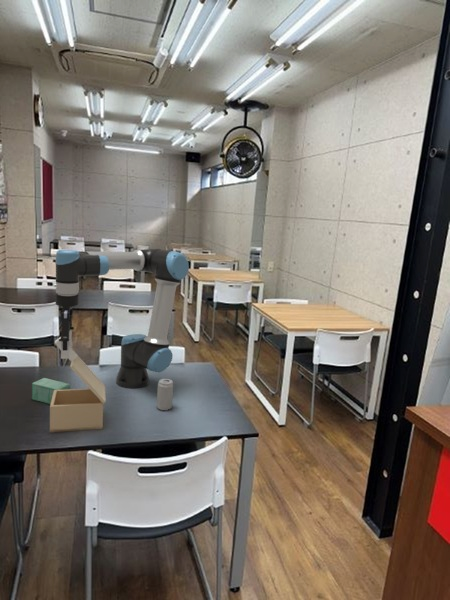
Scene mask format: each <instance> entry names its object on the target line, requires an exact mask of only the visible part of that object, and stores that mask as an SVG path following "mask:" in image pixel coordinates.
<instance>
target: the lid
mask: <svg viewBox="0 0 450 600" xmlns="http://www.w3.org/2000/svg"><path fill="white" fill-rule="evenodd" d="M59 339H61V336H59V338H57V339H56V340H54V345H55V346H56V347H57V348H58V349H59V350H60V351H61V341H59ZM68 360H69V361H70V369H71V370H73V372H74V373H75V374H76V376H77V377H79V379H80V380H81V381H82V382H83V383H84V384H85V385H86V387H88V389H91V391H92V392H93V393H94V394H95V395H96V396H97V397H98V398H99V399H100V400H101V401H102V403H103V404H105V403H106V402H107V401H106V398H107V397H106V385H105V384H104V383H103V382H102V381H101V379H100V378H99V377H98V376H97V375H96V374H95V373H94V371H92V370H91V369H90V367H89V366H88V365H87V364H86V363H85V362H84V361H83V359H81V357H80V356H79V355H78V353H77V352H76V351H75V350H74V349H73V348H72V347H70V346H69V359H68Z"/></svg>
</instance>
